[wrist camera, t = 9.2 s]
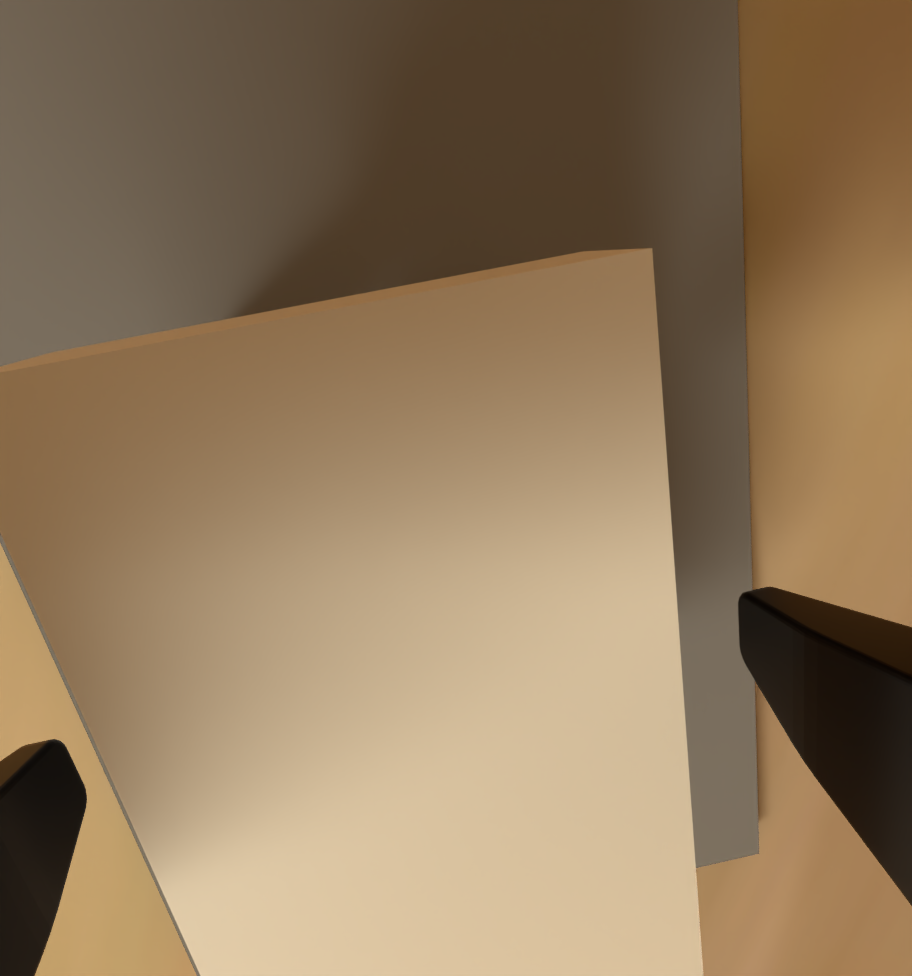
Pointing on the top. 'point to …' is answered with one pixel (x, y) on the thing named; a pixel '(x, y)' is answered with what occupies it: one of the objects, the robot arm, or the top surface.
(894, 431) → the top surface
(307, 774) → the footstool
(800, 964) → the top surface
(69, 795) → the robot arm
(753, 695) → the mat
